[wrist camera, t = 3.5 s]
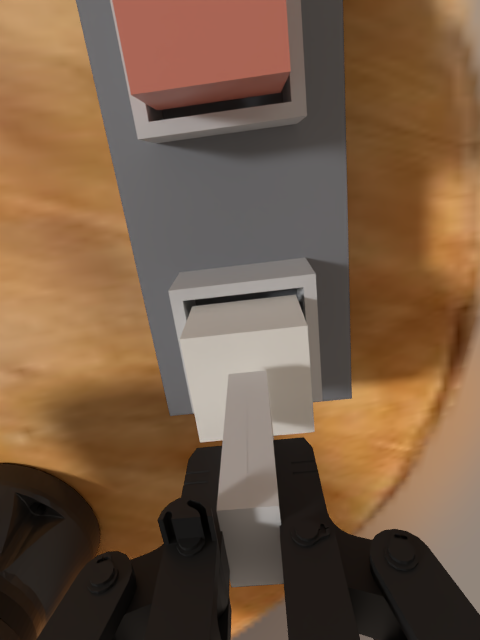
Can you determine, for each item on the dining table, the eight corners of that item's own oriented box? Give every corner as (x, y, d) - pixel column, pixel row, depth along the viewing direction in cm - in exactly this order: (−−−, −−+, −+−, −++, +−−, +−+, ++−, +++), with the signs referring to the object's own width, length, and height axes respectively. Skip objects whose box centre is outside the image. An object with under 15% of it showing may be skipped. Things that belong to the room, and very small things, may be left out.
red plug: (280, 92, 16) (290, 71, 12) (157, 110, 16) (130, 94, 13) (268, -70, 14) (276, -153, 11) (129, -46, 15) (88, -118, 11)
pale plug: (302, 385, 21) (314, 431, 18) (208, 394, 22) (200, 442, 18) (295, 294, 19) (307, 325, 16) (192, 306, 20) (179, 339, 16)
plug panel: (335, 362, 30) (367, 432, 22) (181, 377, 31) (159, 451, 23) (318, -76, 20) (363, -227, 13) (96, -39, 21) (7, -159, 13)
